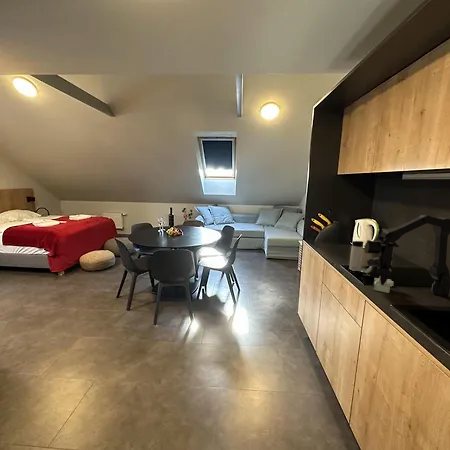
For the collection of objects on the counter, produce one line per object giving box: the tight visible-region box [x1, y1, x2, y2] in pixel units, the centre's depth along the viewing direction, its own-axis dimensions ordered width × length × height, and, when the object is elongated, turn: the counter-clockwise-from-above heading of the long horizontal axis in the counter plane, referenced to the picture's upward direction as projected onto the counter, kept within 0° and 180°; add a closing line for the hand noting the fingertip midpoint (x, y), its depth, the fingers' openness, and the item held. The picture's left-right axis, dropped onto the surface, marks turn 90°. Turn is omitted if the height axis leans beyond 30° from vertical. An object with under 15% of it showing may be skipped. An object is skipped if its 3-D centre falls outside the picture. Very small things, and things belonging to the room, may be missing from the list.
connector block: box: [378, 277, 387, 286], centre depth 142 cm, size 4×4×6 cm
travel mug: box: [348, 240, 364, 272], centre depth 169 cm, size 6×7×20 cm
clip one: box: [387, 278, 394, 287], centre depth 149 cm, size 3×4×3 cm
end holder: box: [373, 281, 391, 294], centre depth 142 cm, size 7×7×3 cm
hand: (382, 283), depth 142 cm, fingers open, 5 cm apart
